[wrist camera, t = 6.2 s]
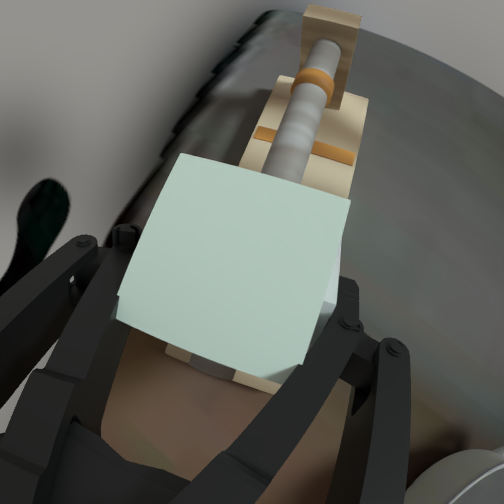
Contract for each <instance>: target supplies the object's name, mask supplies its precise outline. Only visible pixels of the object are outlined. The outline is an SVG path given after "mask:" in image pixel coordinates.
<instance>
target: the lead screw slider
mask: <svg viewBox="0 0 504 504" xmlns="http://www.w3.org/2000/svg"><path fill="white" fill-rule="evenodd" d="M361 17H362V16H359V15H356V14H352V13H348V12H344V11H340V10H336V9H332V8H327V7H323V6H318V5H313V4H309V6H308V8H307V9H306V11H305V13H304V15H303V24H302V39H301V53H300V67H299V72H298V73H297V75H296V77H295V78H291V77H286V76H282V75H280V76H279V78H278V80H277V82H276V84H275V86H274V88H273V91H272V93H271V95H270V97H269V99H268V101H267V103H266V106H265V108H264V110H263V112H262V114H261V116H260V119H259V121H258V123H257V125H256V127H255V130H254V132H253V134H252V136H251V139H250V141H249V143H248V145H247V148H246V150H245V152H244V154H243V157H242V159H241V161H240V163H239V166H238V167H241V168H244V169H248V170H252V171H256V172H259V173H263V174H266V175H270V176H274V177H277V178H281V179H284V180H287V181H291V182H294V183H298V184H301V185H304V186H307V187H311V188H314V189H317V190H320V191H324V192H327V193H330V194H333V195H336V196H339V197H342V198H345V199H348V195H349V191H350V186H351V182H352V178H353V173H354V169H355V165H356V160H357V156H358V151H359V146H360V141H361V137H362V132H363V127H364V122H365V116H366V111H367V106H368V100H369V99H367V98H364V97H360V96H357V95H354V94H351V93H348V92H344V91H345V87H346V83H347V79H348V74H349V70H350V66H351V62H352V57H353V53H354V49H355V44H356V40H357V36H358V31H359V26H360V22H361ZM165 354H167V355H170V356H172V357H174V358H177V359H179V360H181V361H184V362H186V363H188V364H189V365H190V366H192V367H193V368H195V369H197V370H199V371H201V372H204V373H206V374H209V375H212V376H215V377H218V378H222V379H226V380H233V381H235V382H238V383H241V384H244V385H247V386H250V387H252V388H255V389H258V390H261V391H264V392H268V393H271V394H275V393H276V392H277V391H278V389H279V388H280V387H281V386H282V385H281V384H278V383H275V382H272V381H269V380H266V379H263V378H260V377H257V376H254V375H251V374H248V373H245V372H242V371H239V370H237V369H234V368H231V367H228V366H226V365H223V364H220V363H217V362H215V361H212V360H210V359H207V358H204V357H202V356H199V355H197V354H194V353H192V352H189V351H187V350H185V349H182V348H180V347H177V346H175V345H173V344H170V343H168V345H167V348H166V350H165Z"/></svg>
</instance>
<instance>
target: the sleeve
mask: <svg viewBox="0 0 504 504" xmlns="http://www.w3.org/2000/svg"><path fill="white" fill-rule="evenodd" d="M350 202H351V200H348V199H345V198H342V197H339V196H336V195H333V194H330V193H327V192H324V191H320V190H317V189H314V188H311V187H307V186H304V185H301V184H298V183H294V182H291V181H287V180H284V179H281V178H277V177H274V176H270V175H266V174H263V173H259V172H256V171H252V170H248V169H244V168H241V167H237V166H233V165H229V164H225V163H221V162H217V161H213V160H209V159H205V158H201V157H196V156H192V155H188V154H183V153H181V154H180V156H179V157H178V159H177V161H176V163H175V165H174V167H173V169H172V171H171V173H170V175H169V177H168V179H167V181H166V183H165V185H164V187H163V189H162V191H161V193H160V196H159V198H158V200H157V202H156V204H155V206H154V208H153V210H152V213H151V215H150V217H149V219H148V221H147V224H146V226H145V228H144V230H143V233H142V235H141V237H140V239H139V242H138V244H137V246H136V249H135V251H134V254H133V256H132V258H131V261H130V263H129V266H128V268H127V271H126V273H125V276H124V278H123V281H122V283H121V286H120V288H119V291H118V294H117V295H118V296H120V297H119V303H118V309H117V315H116V319H118V320H120V321H122V322H124V323H126V324H128V325H130V326H132V327H134V328H137V329H139V330H141V331H143V332H145V333H147V334H150V335H152V336H154V337H156V338H159V339H161V340H163V341H166V342H168V343H170V344H173V345H175V346H177V347H180V348H182V349H185V350H187V351H189V352H192V353H194V354H197V355H199V356H202V357H204V358H207V359H210V360H212V361H215V362H217V363H220V364H223V365H226V366H228V367H231V368H234V369H237V370H239V371H242V372H245V373H248V374H251V375H254V376H257V377H260V378H263V379H266V380H269V381H272V382H275V383H278V384H281V385H282V384H283V383H284V382H285V381H286V379H287V378H288V377H289V376H290V374H291V373H292V372H293V370H294V369H295V368H296V367H297V365H298V364H301V365H302V364H303V361H304V358H305V355H306V353H307V350H308V347H309V344H310V341H311V338H312V335H313V332H314V329H315V326H316V323H317V320H318V316H319V313H320V310H321V307H322V304H323V300H324V297H325V294H326V291H327V287H328V284H329V280H330V277H331V274H332V270H333V267H334V263H335V260H336V256H337V252H338V249H339V245H340V241H341V237H342V234H343V230H344V226H345V222H346V218H347V214H348V210H349V206H350Z"/></svg>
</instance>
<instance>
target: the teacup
mask: <svg viewBox="0 0 504 504" xmlns="http://www.w3.org/2000/svg"><path fill="white" fill-rule="evenodd" d="M404 504H504V446H502V447H500V448H497V449H495V450H493V451H488V450H482V449H470V450H464V451H460V452H457V453H454V454H452V455H449V456H447V457H445V458H443V459H442V460H440V461H438V462H437V463H435V464H434V465H432V466H431V467H430V468H428V469H427V470H426V471H424V472H423V473H422V474H421V475H420V476H419V477H418V478H417V479H416V480H415V481H414V482H413V483H412V484H411V486H410V487H409V488H408V489H407V491H406V492H405V498H404Z"/></svg>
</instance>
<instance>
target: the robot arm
mask: <svg viewBox="0 0 504 504" xmlns="http://www.w3.org/2000/svg"><path fill="white" fill-rule="evenodd" d="M112 234H113V246H112V248H105V247H98V245H97V239H96V238H95V237H93V236H91V235H80V236H76V237H74V238H73V239H71V240H70V241H69V242H67V243H66V244H65V245H63V246H62V247H60V248H59V249H58V250H57V251H56V252H54V253H53V254H51V255H50V256H49V257H48V258H46V259H45V260H44V261H42V262H41V263H40V264H39V265H37V266H36V267H35V268H34V269H33V270H31V271H30V272H29V273H28V274H26V275H25V276H24V277H23V278H22V279H20V280H19V281H18V282H17V283H16V284H15V285H13V286H12V287H11V288H10V289H9V290H8V291H6V292H5V293H4V294H3V295H2V296H1V297H0V409H1V407H3V405H4V404H5V403H6V402H7V401H8V399H9V398H10V397H11V396H12V394H13V393H14V392H15V390H16V389H17V388H18V387H19V385H20V384H21V383H22V381H23V380H24V379H25V378H26V377H27V375H28V374H29V373H30V372H31V370H32V369H33V368H34V367H35V366H36V364H37V363H38V362H39V361H40V360H41V358H42V357H43V356H44V355H45V354H46V352H47V351H48V350H49V349H50V348H51V346H52V345H53V344H54V343H55V342H56V341H57V340H58V339H59V340H58V342H57V344H56V346H55V348H54V350H53V352H52V354H51V356H50V358H49V360H48V362H47V364H46V366H45V367H44V368H43V369H35V370H33V371H32V373H31V374H30V376H29V378H28V380H27V382H26V384H25V387H24V389H23V391H22V393H21V396H20V398H19V400H18V402H17V405H16V407H15V409H14V412H13V414H12V416H11V419H10V421H9V424H8V427H7V429H6V432H5V433H1V434H0V504H254V503H255V502H256V501H257V500H258V498H259V497H260V496H261V495H262V493H263V492H264V491H265V489H266V488H267V487H268V485H269V484H270V482H271V481H272V479H273V477H274V476H275V475H276V473H277V472H278V471H279V469H280V468H281V466H282V465H283V464H284V462H285V461H286V460H287V458H288V457H289V455H290V454H291V452H292V451H293V450H294V448H295V447H296V445H297V444H298V442H299V441H300V439H301V438H302V436H303V435H304V433H305V432H306V430H307V429H308V427H309V426H310V424H311V423H312V421H313V420H314V418H315V416H316V415H317V413H318V412H319V410H320V408H321V407H322V405H323V404H324V402H325V400H326V399H327V397H328V395H329V394H330V392H331V390H332V388H333V387H334V385H335V383H336V382H337V380H338V378H340V379H342V380H344V381H345V382H347V383H349V384H350V385H352V388H351V394H350V399H349V405H348V410H347V416H346V421H345V426H344V431H343V435H342V440H341V445H340V449H339V453H338V458H337V462H336V466H335V470H334V474H333V478H332V482H331V485H330V489H329V493H328V496H327V500H326V503H325V504H404V498H405V490H406V481H407V471H408V460H409V445H410V421H411V377H410V354H409V350H408V349H407V347H406V346H405V345H404V344H403V343H402V342H401V341H399V340H397V339H395V338H384V339H383V340H382V341H381V342H378V341H376V340H374V339H372V338H371V337H369V336H368V335H367V334H366V333H364V327H363V324H362V322H361V321H360V320H359V287H358V285H357V284H356V282H355V280H351V279H348V278H345V277H342V276H339V268H340V254H341V241H340V245H339V249H338V252H337V256H336V260H335V263H334V267H333V270H332V274H331V277H330V280H329V284H328V287H327V291H326V294H325V297H324V300H323V304H322V307H321V310H320V313H319V316H318V320H317V323H316V326H315V329H314V332H313V335H312V338H311V341H310V344H309V347H308V350H307V353H306V355H305V358H304V361H303V364H302V365H301V364H298V365H297V367H296V368H295V369H294V370H293V372H292V373H291V374H290V376H289V377H288V378H287V379H286V381H285V382H284V383H283V384H282V386H281V387H280V388H279V389H278V391H277V392H276V393H275V394H274V396H273V397H272V398H271V399H270V401H269V402H268V403H267V404H266V405H265V407H264V408H263V409H262V410H261V411H260V413H259V414H258V415H257V416H256V417H255V418H254V420H253V421H252V422H251V423H250V424H249V425H248V426H247V428H246V429H245V430H244V431H243V432H242V433H241V434H240V436H239V437H238V438H237V439H236V440H235V441H234V442H233V443H232V444H231V446H230V447H229V448H228V449H226V450H224V451H222V452H221V453H219V454H218V455H217V456H216V457H215V458H214V459H213V460H212V461H211V462H210V463H209V464H208V465H207V466H206V467H205V468H204V469H203V470H202V471H201V472H200V473H199V474H198V475H197V476H196V477H195V478H194V479H193V480H192V481H188V480H186V479H183V478H181V477H179V476H176V475H174V474H172V473H169V472H167V471H165V470H163V469H158V468H153V467H149V466H145V465H141V464H137V463H133V462H129V461H127V460H125V459H123V458H122V457H121V456H120V455H119V454H118V453H117V452H116V451H115V450H113V449H112V448H111V447H110V446H109V445H108V444H107V443H106V442H105V441H104V440H103V439H102V438H101V422H102V418H103V414H104V410H105V407H106V403H107V400H108V397H109V393H110V390H111V387H112V383H113V380H114V377H115V374H116V371H117V368H118V364H119V361H120V358H121V355H122V352H123V349H124V346H125V343H126V340H127V338H128V335H129V332H130V329H131V326H130V325H128V324H126V323H124V322H122V321H120V320H118V319H116V315H117V309H118V303H119V297H120V296H118V295H117V294H118V291H119V288H120V286H121V283H122V281H123V278H124V276H125V273H126V271H127V268H128V266H129V263H130V261H131V258H132V256H133V254H134V251H135V249H136V246H137V244H138V242H139V239H140V237H141V235H142V229H141V228H140V227H139V226H137V225H134V224H120V225H118V226H115V227H114V228H113V229H112ZM73 275H74V280H73V281H72V282H71V283H70V278H71V277H72V276H73ZM59 337H60V338H59Z"/></svg>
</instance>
